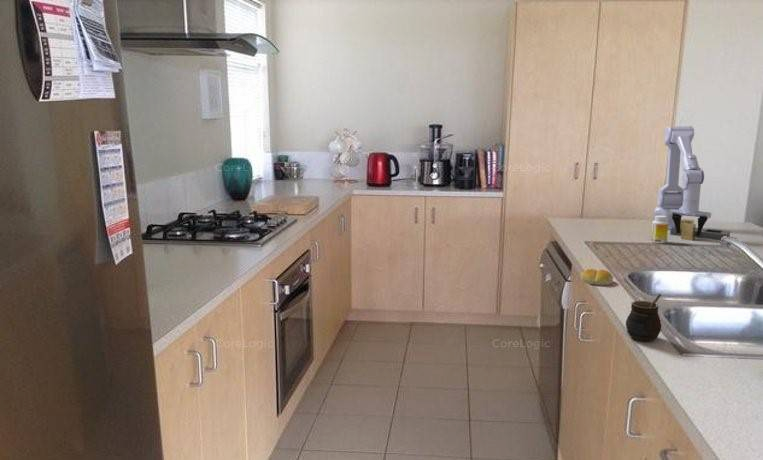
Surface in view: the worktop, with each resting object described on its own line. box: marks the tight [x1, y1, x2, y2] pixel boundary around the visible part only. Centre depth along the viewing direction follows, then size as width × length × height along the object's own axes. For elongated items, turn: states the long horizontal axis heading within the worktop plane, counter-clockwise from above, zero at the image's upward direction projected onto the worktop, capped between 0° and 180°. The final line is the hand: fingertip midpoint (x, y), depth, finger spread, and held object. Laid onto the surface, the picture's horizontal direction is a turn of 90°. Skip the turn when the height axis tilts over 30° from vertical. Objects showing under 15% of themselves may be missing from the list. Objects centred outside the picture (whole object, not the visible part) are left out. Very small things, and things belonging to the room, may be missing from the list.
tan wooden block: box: [680, 223, 697, 241], centre depth 235 cm, size 4×4×6 cm
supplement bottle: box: [650, 216, 669, 244], centre depth 230 cm, size 6×6×10 cm
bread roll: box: [580, 268, 614, 286], centre depth 178 cm, size 8×9×4 cm
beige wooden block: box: [680, 218, 695, 229], centre depth 244 cm, size 4×4×6 cm
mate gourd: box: [625, 293, 662, 342], centre depth 133 cm, size 7×8×10 cm
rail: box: [669, 227, 731, 241], centre depth 241 cm, size 20×8×2 cm, turn 49°
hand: (688, 234), depth 235 cm, fingers open, 7 cm apart
